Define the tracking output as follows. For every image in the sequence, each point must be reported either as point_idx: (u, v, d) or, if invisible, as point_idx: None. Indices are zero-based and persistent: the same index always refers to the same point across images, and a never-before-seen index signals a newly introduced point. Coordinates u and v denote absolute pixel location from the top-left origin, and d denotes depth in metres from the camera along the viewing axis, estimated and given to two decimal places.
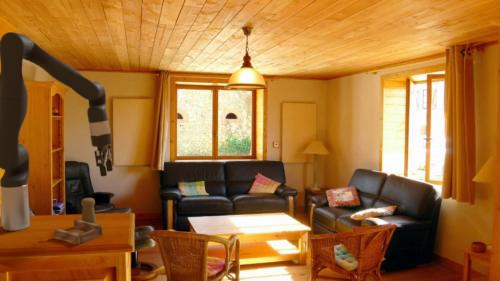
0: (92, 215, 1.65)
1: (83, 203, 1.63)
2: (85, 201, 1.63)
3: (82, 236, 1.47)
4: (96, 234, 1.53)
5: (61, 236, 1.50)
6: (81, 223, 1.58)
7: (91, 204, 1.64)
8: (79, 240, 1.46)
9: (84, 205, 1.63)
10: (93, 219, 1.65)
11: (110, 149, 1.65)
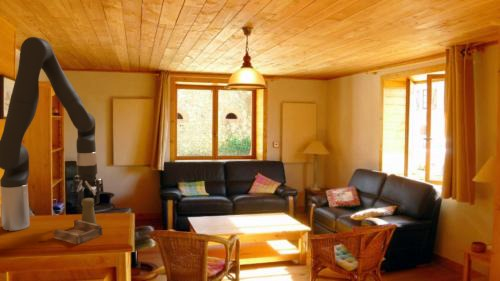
0: (92, 215, 1.65)
1: (83, 203, 1.63)
2: (85, 201, 1.63)
3: (82, 236, 1.47)
4: (96, 234, 1.53)
5: (61, 236, 1.50)
6: (81, 223, 1.58)
7: (91, 204, 1.63)
8: (79, 240, 1.46)
9: (84, 205, 1.63)
10: (93, 219, 1.65)
11: None
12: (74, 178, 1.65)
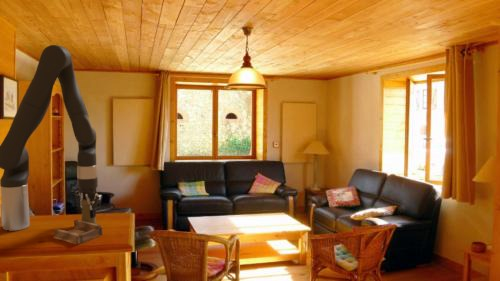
0: None
1: (83, 203, 1.63)
2: (85, 201, 1.63)
3: (82, 236, 1.47)
4: (96, 234, 1.53)
5: (61, 236, 1.50)
6: (81, 223, 1.58)
7: None
8: (79, 240, 1.46)
9: (84, 205, 1.63)
10: (93, 219, 1.65)
11: None
12: (75, 194, 1.66)
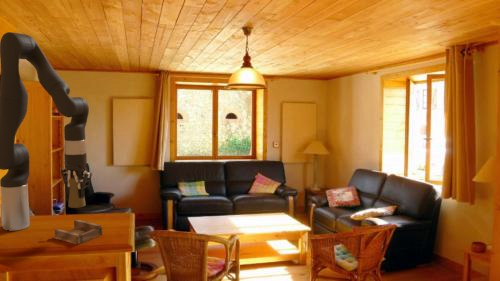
0: None
1: (71, 181, 1.48)
2: (73, 179, 1.49)
3: (82, 236, 1.47)
4: (96, 234, 1.53)
5: (61, 236, 1.50)
6: (81, 223, 1.58)
7: None
8: (79, 240, 1.46)
9: (72, 183, 1.48)
10: (81, 199, 1.51)
11: None
12: (62, 172, 1.52)
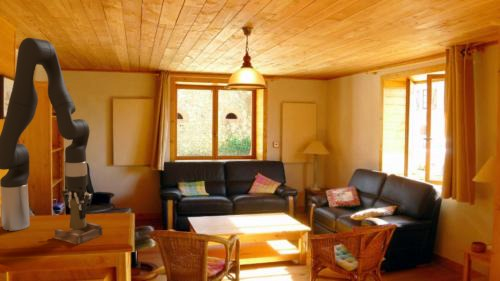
0: None
1: (72, 203, 1.50)
2: (74, 200, 1.50)
3: (82, 236, 1.47)
4: (96, 234, 1.53)
5: (61, 236, 1.50)
6: None
7: None
8: (79, 240, 1.46)
9: (73, 205, 1.50)
10: (82, 220, 1.52)
11: None
12: (63, 193, 1.53)
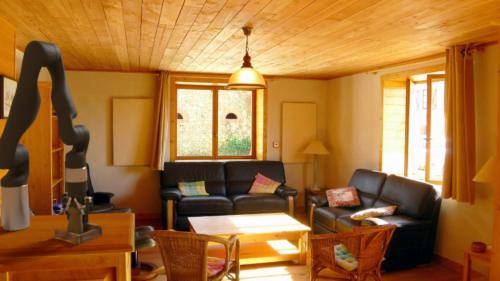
0: (79, 224, 1.52)
1: (70, 211, 1.51)
2: (72, 209, 1.51)
3: (82, 236, 1.47)
4: (96, 234, 1.53)
5: (61, 236, 1.50)
6: None
7: (78, 212, 1.51)
8: (79, 240, 1.46)
9: (71, 213, 1.50)
10: (79, 228, 1.53)
11: None
12: (62, 195, 1.53)
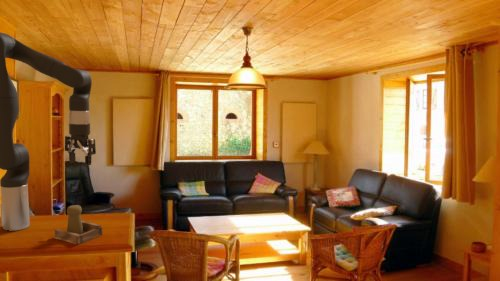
0: (78, 224, 1.52)
1: (68, 211, 1.51)
2: (70, 209, 1.51)
3: (82, 236, 1.47)
4: (96, 234, 1.53)
5: (61, 236, 1.50)
6: None
7: (77, 212, 1.51)
8: (79, 240, 1.46)
9: (69, 213, 1.51)
10: (79, 228, 1.53)
11: None
12: (66, 138, 1.58)
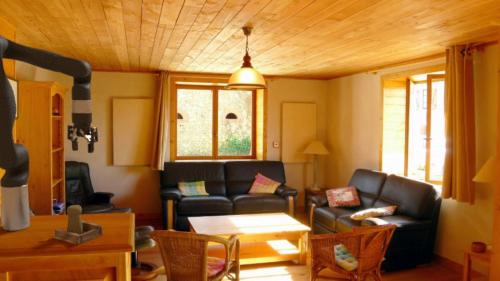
0: (78, 224, 1.52)
1: (68, 211, 1.51)
2: (70, 209, 1.51)
3: (82, 236, 1.47)
4: (96, 234, 1.53)
5: (61, 236, 1.50)
6: None
7: (77, 212, 1.51)
8: (79, 240, 1.46)
9: (69, 213, 1.51)
10: (79, 228, 1.53)
11: None
12: (68, 127, 1.63)
